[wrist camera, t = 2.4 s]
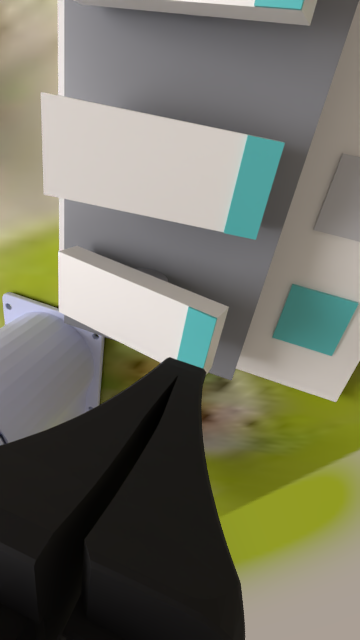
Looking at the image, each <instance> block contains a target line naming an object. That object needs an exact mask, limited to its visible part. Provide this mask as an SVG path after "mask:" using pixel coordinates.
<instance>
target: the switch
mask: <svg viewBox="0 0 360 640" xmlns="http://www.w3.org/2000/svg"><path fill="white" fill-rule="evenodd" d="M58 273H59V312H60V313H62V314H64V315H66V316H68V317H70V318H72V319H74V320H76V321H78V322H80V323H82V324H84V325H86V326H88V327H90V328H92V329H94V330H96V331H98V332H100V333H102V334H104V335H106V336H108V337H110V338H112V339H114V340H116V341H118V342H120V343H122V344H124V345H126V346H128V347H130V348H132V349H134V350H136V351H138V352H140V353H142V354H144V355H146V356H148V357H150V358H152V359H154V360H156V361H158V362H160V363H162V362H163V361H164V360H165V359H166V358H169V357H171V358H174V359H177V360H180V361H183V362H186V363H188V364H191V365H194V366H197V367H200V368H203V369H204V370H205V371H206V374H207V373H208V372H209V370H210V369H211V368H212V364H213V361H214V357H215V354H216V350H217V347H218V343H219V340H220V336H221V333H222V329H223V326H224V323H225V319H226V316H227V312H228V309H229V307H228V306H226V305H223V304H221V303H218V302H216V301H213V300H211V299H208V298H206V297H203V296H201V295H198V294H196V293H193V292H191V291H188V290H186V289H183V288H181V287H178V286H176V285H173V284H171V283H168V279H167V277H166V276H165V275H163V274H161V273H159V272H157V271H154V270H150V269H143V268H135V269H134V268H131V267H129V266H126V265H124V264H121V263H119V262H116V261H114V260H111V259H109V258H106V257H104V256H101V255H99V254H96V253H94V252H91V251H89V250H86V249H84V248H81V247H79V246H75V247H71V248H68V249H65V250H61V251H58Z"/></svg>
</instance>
